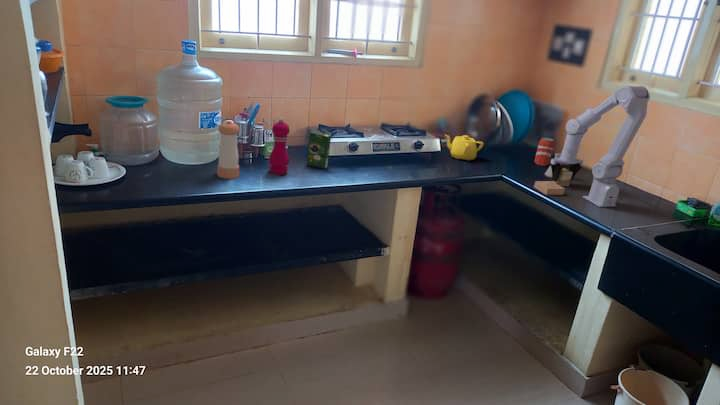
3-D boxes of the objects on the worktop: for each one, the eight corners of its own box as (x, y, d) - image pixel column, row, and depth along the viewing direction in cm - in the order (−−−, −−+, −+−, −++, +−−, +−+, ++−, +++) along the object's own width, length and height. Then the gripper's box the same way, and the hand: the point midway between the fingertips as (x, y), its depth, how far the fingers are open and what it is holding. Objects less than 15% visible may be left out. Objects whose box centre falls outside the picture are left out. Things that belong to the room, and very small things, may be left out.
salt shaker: (238, 171, 183) (239, 118, 176) (240, 178, 177) (241, 124, 170) (216, 171, 181) (217, 117, 173) (218, 178, 175) (218, 123, 167)
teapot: (462, 164, 222) (466, 141, 218) (440, 155, 231) (444, 132, 227) (481, 160, 231) (486, 138, 227) (459, 151, 239) (464, 130, 235)
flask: (562, 180, 217) (569, 157, 213) (545, 177, 218) (551, 155, 214) (560, 175, 224) (566, 153, 220) (543, 172, 225) (548, 150, 221)
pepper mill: (264, 171, 186) (266, 117, 178) (276, 167, 192) (279, 114, 184) (280, 176, 183) (283, 121, 175) (292, 172, 189) (296, 118, 181)
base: (563, 194, 200) (565, 188, 199) (546, 195, 198) (548, 188, 197) (550, 186, 207) (552, 181, 206) (533, 187, 204) (535, 181, 203)
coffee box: (328, 167, 198) (331, 134, 193) (325, 169, 196) (328, 136, 190) (309, 163, 200) (312, 130, 195) (306, 165, 198) (308, 132, 193)
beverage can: (546, 163, 238) (552, 138, 234) (549, 167, 232) (556, 141, 228) (532, 161, 239) (539, 136, 234) (535, 165, 233) (542, 140, 228)
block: (568, 186, 211) (572, 172, 209) (559, 186, 209) (563, 172, 207) (561, 182, 215) (565, 168, 213) (552, 182, 213) (556, 168, 211)
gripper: (578, 146, 212) (569, 177, 217) (549, 145, 207) (541, 177, 213) (590, 151, 206) (580, 183, 211) (560, 151, 201) (551, 183, 207)
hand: (561, 180), depth 212 cm, fingers open, 7 cm apart
